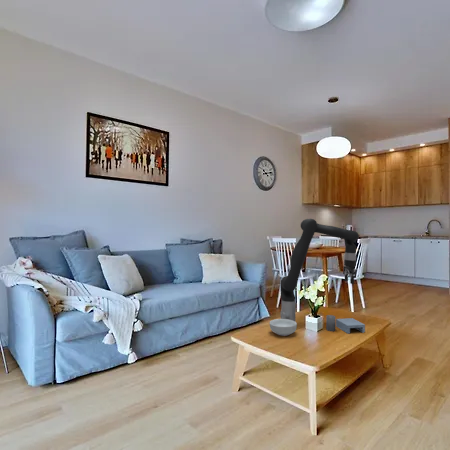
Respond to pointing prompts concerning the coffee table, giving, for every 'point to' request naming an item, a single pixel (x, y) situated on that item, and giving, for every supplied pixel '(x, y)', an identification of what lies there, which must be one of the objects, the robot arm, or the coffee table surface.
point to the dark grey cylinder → (330, 323)
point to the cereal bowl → (283, 326)
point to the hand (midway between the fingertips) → (349, 282)
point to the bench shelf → (349, 325)
